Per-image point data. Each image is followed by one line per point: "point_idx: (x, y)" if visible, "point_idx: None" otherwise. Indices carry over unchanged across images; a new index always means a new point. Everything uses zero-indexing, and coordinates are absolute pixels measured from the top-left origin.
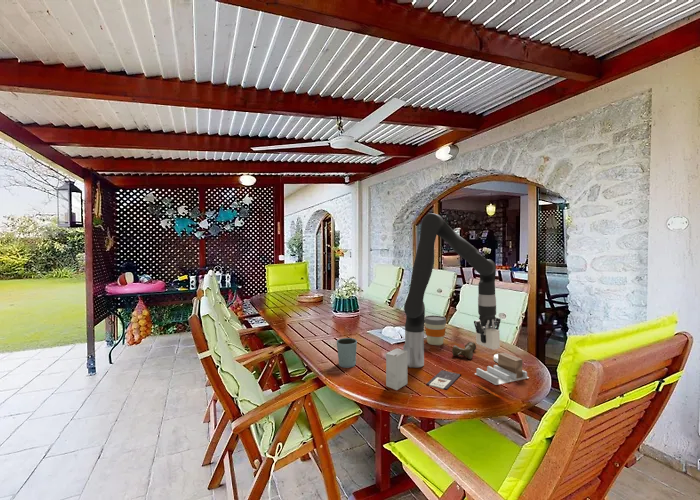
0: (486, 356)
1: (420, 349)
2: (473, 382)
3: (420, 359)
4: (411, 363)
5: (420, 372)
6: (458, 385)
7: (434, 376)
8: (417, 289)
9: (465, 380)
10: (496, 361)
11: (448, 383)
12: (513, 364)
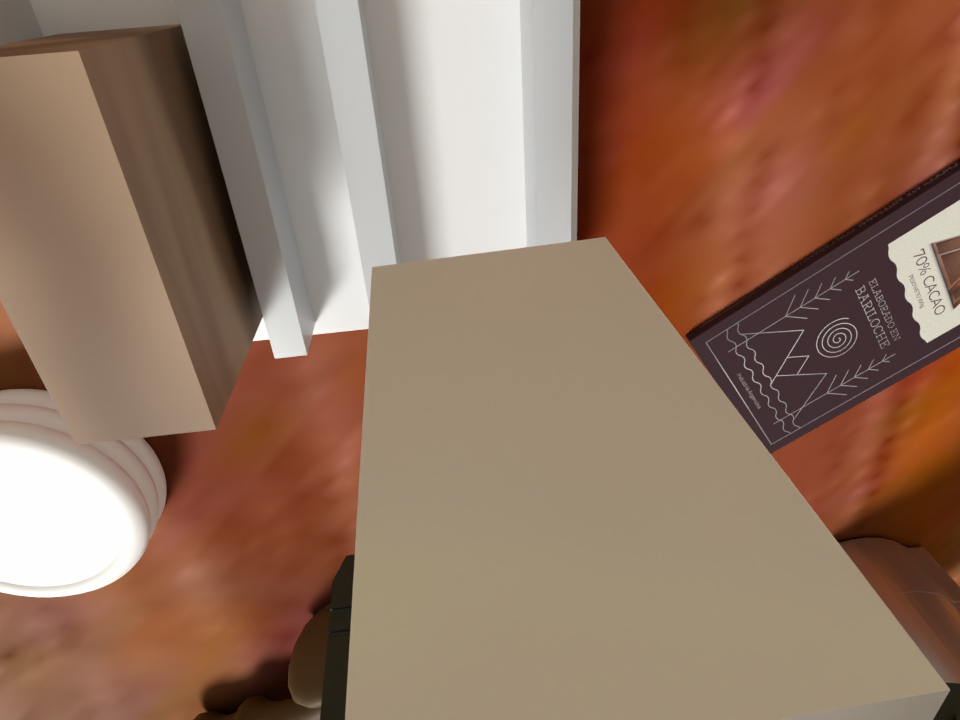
0: (158, 618)
1: (956, 677)
2: (703, 155)
3: (892, 591)
4: (933, 572)
5: (928, 464)
6: (898, 138)
7: (932, 361)
8: None
9: (736, 224)
10: (152, 486)
11: None
12: (134, 91)
